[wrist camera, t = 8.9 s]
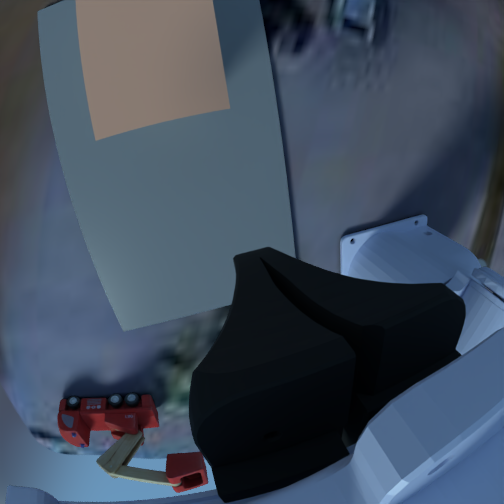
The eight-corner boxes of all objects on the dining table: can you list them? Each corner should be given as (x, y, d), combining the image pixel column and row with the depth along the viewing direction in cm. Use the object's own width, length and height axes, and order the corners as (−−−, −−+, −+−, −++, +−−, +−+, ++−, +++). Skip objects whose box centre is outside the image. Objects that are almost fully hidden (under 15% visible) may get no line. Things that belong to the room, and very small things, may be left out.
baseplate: (249, -33, 14) (252, -36, 13) (295, 281, 25) (298, 285, 24) (40, 13, 12) (37, 11, 11) (124, 326, 23) (123, 331, 22)
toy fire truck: (56, 394, 24) (43, 477, 15) (189, 385, 27) (206, 474, 19) (69, 414, 25) (61, 493, 17) (193, 406, 28) (211, 489, 20)
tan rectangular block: (188, -34, 10) (199, -80, 6) (211, 110, 13) (230, 108, 9) (95, -14, 9) (74, -54, 5) (116, 133, 13) (95, 140, 9)
